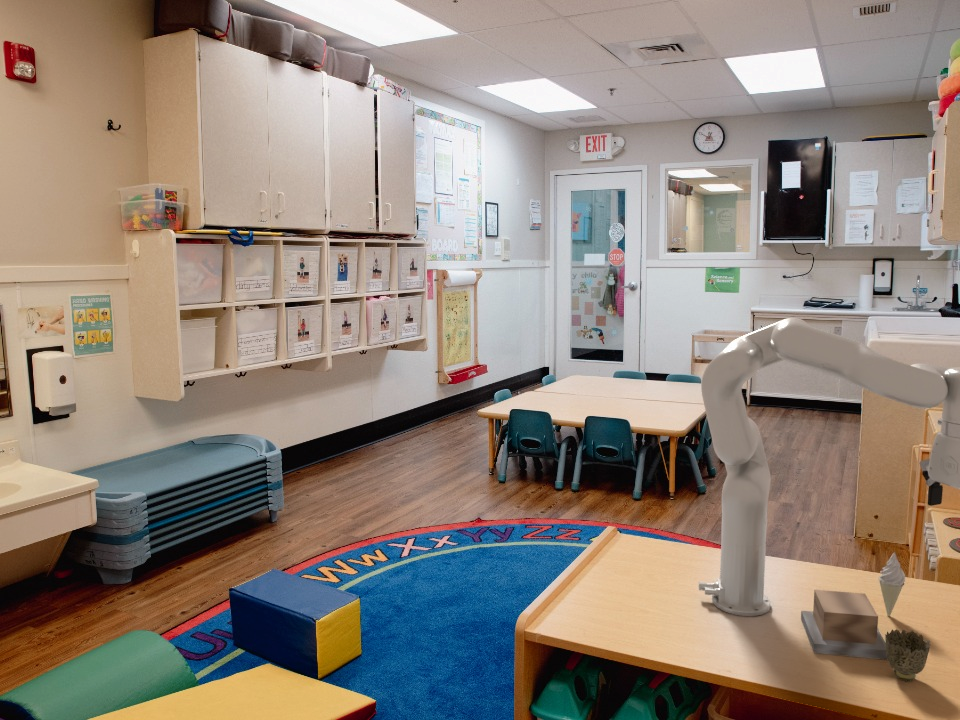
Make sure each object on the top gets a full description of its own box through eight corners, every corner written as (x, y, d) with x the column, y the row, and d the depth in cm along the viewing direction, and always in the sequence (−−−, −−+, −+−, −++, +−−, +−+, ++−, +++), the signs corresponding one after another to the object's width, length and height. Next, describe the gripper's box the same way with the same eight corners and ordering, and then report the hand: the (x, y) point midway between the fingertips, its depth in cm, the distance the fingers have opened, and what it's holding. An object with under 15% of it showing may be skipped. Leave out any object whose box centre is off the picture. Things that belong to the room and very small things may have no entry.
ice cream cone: (905, 622, 168) (910, 556, 166) (879, 620, 169) (884, 555, 167) (897, 611, 173) (902, 547, 171) (873, 609, 174) (877, 545, 172)
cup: (874, 667, 152) (877, 629, 150) (910, 665, 152) (913, 627, 151) (897, 690, 144) (900, 650, 143) (935, 687, 145) (939, 647, 143)
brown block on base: (813, 652, 157) (815, 615, 156) (800, 619, 171) (802, 584, 169) (889, 659, 154) (892, 622, 153) (870, 625, 168) (872, 590, 166)
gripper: (911, 422, 161) (905, 501, 164) (990, 442, 145) (982, 530, 148) (938, 418, 164) (931, 496, 167) (1019, 438, 148) (1010, 524, 151)
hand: (955, 512), depth 157 cm, fingers open, 9 cm apart
